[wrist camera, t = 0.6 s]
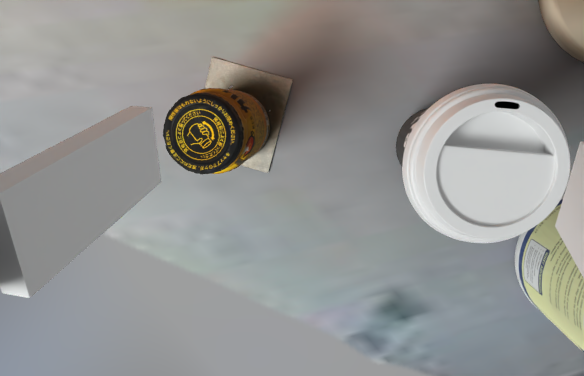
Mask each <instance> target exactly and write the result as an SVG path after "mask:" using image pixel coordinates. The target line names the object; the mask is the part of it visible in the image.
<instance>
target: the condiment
mask: <svg viewBox="0 0 584 376" xmlns="http://www.w3.org/2000/svg"><path fill="white" fill-rule="evenodd" d="M292 81H293V80H292V79H288V78H284V77H281V76H277V75H274V74H270V73H266V72H263V71H259V70H256V69H252V68H249V67H245V66H241V65H238V64H234V63H231V62H227V61H224V60H220V59H216V58H213V57H212V60H211V64H210V68H209V73H208V77H207V81H206V86H205V89H201V90H199V91H197V92H194V93H192V94H191V95H188V96H186V97H183V98H181V99H179V100H178V101H177V102H176V103H175V104H174V106H173V107H172V108H171V110H169V112H168V114H167V117H166V120H165V124H164V130H163V136H164V139H165V143H166V149H167V151H168V153H169V154H170V156H171V157H172V158H173V159H174V160H175V161H176V162H177V163H178V164H179V165H180V166H182V167H183V168H185V169H186V170H188V171H191V172H194V173H199V174H210V173H213V174H219V173H224V172H227V171H231V170H232V169H235V168H237V167H239V166H240V165H242V166H245V167H248V168H252V169H255V170H259V171H262V172H266V173H268V171H269V167H270V164H271V160H272V156H273V153H274V149H275V145H276V141H277V138H278V134H279V130H280V127H281V122H282V118H283V115H284V111H285V107H286V104H287V100H288V96H289V92H290V88H291V85H292ZM231 85H232V86H233V87H232V88H229V87H230V86H231ZM227 89H229V90H227ZM269 110H270V111H269Z"/></svg>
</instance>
